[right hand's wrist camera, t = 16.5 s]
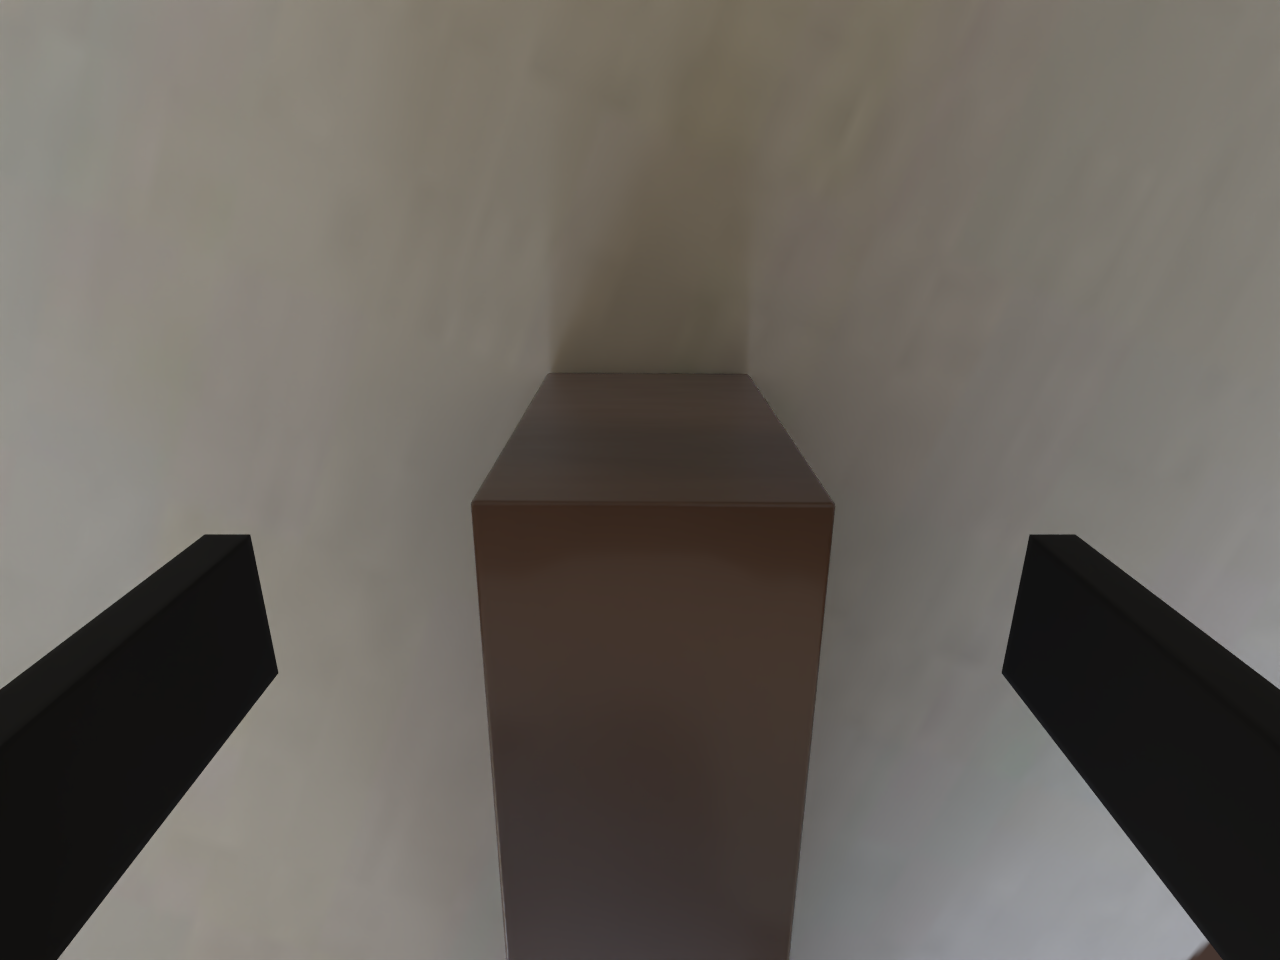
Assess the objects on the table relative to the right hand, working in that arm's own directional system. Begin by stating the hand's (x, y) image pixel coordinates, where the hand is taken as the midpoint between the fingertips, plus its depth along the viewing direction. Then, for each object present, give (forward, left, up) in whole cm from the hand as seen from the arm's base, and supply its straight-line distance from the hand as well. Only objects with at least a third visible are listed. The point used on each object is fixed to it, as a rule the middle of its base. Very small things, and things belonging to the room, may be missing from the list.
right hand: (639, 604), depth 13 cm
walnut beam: (+9, +7, -3) cm, 12 cm away
